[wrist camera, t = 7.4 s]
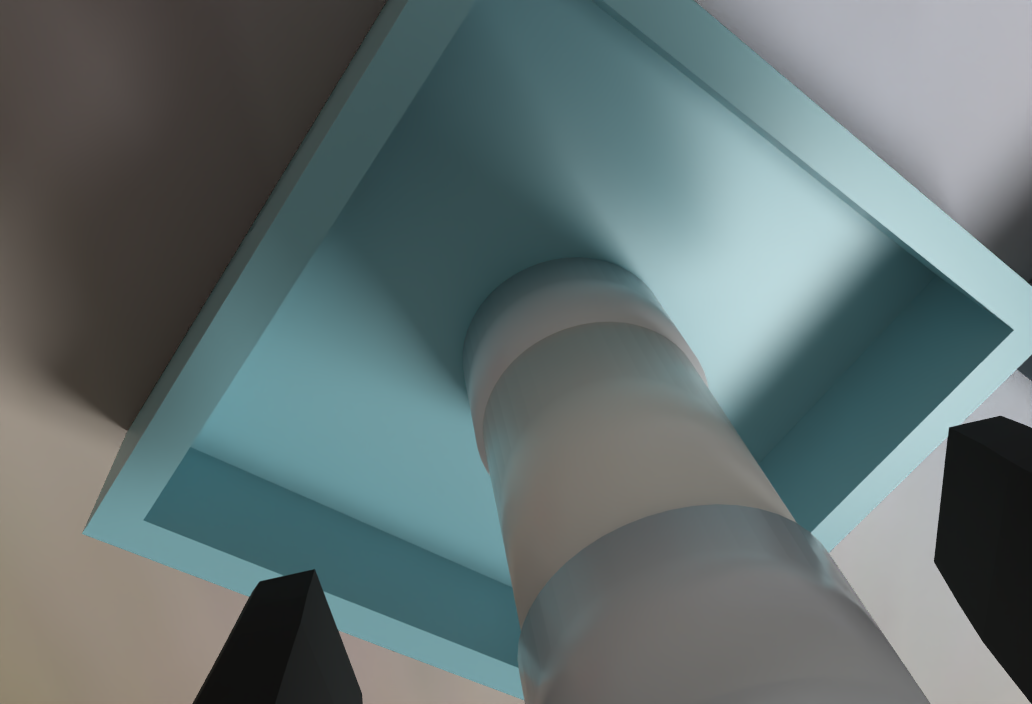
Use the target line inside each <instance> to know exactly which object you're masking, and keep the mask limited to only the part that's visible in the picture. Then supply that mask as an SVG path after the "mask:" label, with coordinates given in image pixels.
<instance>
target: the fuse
mask: <svg viewBox="0 0 1032 704" xmlns="http://www.w3.org/2000/svg"><path fill="white" fill-rule="evenodd" d="M462 365H463V372H464V378H465V384H466V389H467V394H468V400H469V405H470V411H471V416H472V421H473V427H474V432H475V438H476V443H477V448H478V451H479V455H480V458H481V461H482V463H483V465H484V467H485V469H486V471H487V472H488V474H489V475H490V477H491V482H492V488H493V493H494V498H495V503H496V508H497V513H498V518H499V523H500V528H501V533H502V538H503V543H504V548H505V553H506V558H507V563H508V568H509V573H510V578H511V583H512V588H513V593H514V598H515V604H516V609H517V614H518V619H519V624H520V629H521V634H520V638H519V642H518V658H517V660H518V667H519V674H520V680H521V685H522V691H523V696H524V701H525V704H930V702H929V701H928V699H927V698H926V696H925V695H924V693H923V692H922V690H921V689H920V687H919V686H918V685H917V683H916V682H915V680H914V679H913V677H912V676H911V674H910V673H909V671H908V670H907V668H906V667H905V665H904V664H903V662H902V661H901V659H900V658H899V656H898V655H897V653H896V652H895V650H894V649H893V647H892V646H891V645H890V643H889V642H888V640H887V639H886V637H885V636H884V634H883V633H882V631H881V630H880V628H879V627H878V625H877V624H876V622H875V621H874V619H873V618H872V616H871V615H870V613H869V612H868V610H867V609H866V607H865V606H864V605H863V603H862V602H861V600H860V599H859V597H858V596H857V594H856V593H855V591H854V590H853V588H852V587H851V585H850V584H849V582H848V581H847V579H846V578H845V576H844V575H843V573H842V572H841V570H840V569H839V568H838V566H837V565H836V563H835V562H834V560H833V559H832V557H831V556H830V554H829V553H828V552H827V550H826V549H825V547H824V546H823V545H822V543H821V542H820V541H819V540H818V539H817V538H816V537H815V536H813V535H812V534H811V533H810V532H809V531H808V530H806V529H805V528H803V527H802V526H800V525H799V524H797V522H796V521H795V519H794V518H793V516H792V515H791V513H790V512H789V510H788V509H787V507H786V506H785V504H784V503H783V501H782V500H781V498H780V497H779V495H778V494H777V492H776V491H775V489H774V488H773V486H772V484H771V483H770V481H769V480H768V478H767V477H766V475H765V474H764V472H763V471H762V469H761V468H760V466H759V465H758V463H757V462H756V460H755V459H754V457H753V456H752V454H751V453H750V451H749V449H748V448H747V446H746V445H745V443H744V442H743V440H742V439H741V437H740V436H739V434H738V433H737V431H736V430H735V428H734V427H733V425H732V424H731V422H730V421H729V419H728V418H727V416H726V414H725V413H724V411H723V410H722V408H721V407H720V405H719V404H718V402H717V401H716V399H715V398H714V396H713V395H712V393H711V392H710V390H709V388H708V383H707V379H706V376H705V373H704V370H703V368H702V366H701V364H700V362H699V360H698V359H697V357H696V356H695V354H694V353H693V351H692V350H691V348H690V347H689V345H688V344H687V342H686V341H685V339H684V338H683V336H682V335H681V334H680V332H679V331H678V329H677V328H676V326H675V325H674V323H673V322H672V320H671V319H670V317H669V316H668V314H667V313H666V311H665V310H664V308H663V307H662V305H661V304H660V302H659V301H658V299H657V298H656V297H655V295H654V294H653V292H652V291H651V290H650V288H649V287H648V286H647V285H646V284H645V283H644V282H643V281H642V280H640V279H639V278H638V277H636V276H635V275H634V274H633V273H631V272H629V271H627V270H626V269H624V268H622V267H620V266H618V265H615V264H612V263H610V262H607V261H602V260H598V259H593V258H583V257H573V258H561V259H554V260H550V261H546V262H542V263H539V264H536V265H534V266H531V267H529V268H526V269H524V270H522V271H520V272H519V273H517V274H515V275H513V276H511V277H510V278H509V279H507V280H506V281H505V282H503V283H502V284H500V285H499V286H498V287H497V288H496V289H495V290H494V291H493V292H492V293H491V294H490V295H489V296H488V297H487V298H486V300H485V301H484V302H483V303H482V304H481V306H480V307H479V309H478V310H477V312H476V313H475V315H474V317H473V319H472V321H471V323H470V325H469V328H468V330H467V334H466V337H465V340H464V347H463V361H462Z"/></svg>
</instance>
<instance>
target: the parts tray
mask: <svg viewBox="0 0 1032 704" xmlns="http://www.w3.org/2000/svg"><path fill="white" fill-rule="evenodd" d="M573 257H583V258H593V259H598V260H602V261H607V262H610V263H612V264H615V265H618V266H620V267H622V268H624V269H626V270H627V271H629V272H631V273H633V274H634V275H635V276H636V277H638V278H639V279H640V280H642V281H643V282H644V283H645V284H646V285H647V286H648V287H649V288H650V290H651V291H652V292H653V294H654V295H655V297H656V298H657V299H658V301H659V302H660V304H661V305H662V307H663V308H664V310H665V311H666V313H667V314H668V316H669V317H670V319H671V320H672V322H673V323H674V325H675V326H676V328H677V329H678V331H679V332H680V334H681V335H682V336H683V338H684V339H685V341H686V342H687V344H688V345H689V347H690V348H691V350H692V351H693V353H694V354H695V356H696V357H697V359H698V360H699V362H700V364H701V366H702V368H703V370H704V373H705V376H706V379H707V383H708V388H709V390H710V392H711V393H712V395H713V396H714V398H715V399H716V401H717V402H718V404H719V405H720V407H721V408H722V410H723V411H724V413H725V414H726V416H727V418H728V419H729V421H730V422H731V424H732V425H733V427H734V428H735V430H736V431H737V433H738V434H739V436H740V437H741V439H742V440H743V442H744V443H745V445H746V446H747V448H748V449H749V451H750V453H751V454H752V456H753V457H754V459H755V460H756V462H757V463H758V465H759V466H760V468H761V469H762V471H763V472H764V474H765V475H766V477H767V478H768V480H769V481H770V483H771V484H772V486H773V488H774V489H775V491H776V492H777V494H778V495H779V497H780V498H781V500H782V501H783V503H784V504H785V506H786V507H787V509H788V510H789V512H790V513H791V515H792V516H793V518H794V519H795V521H796V522H797V524H799V525H800V526H802V527H803V528H805V529H806V530H808V531H809V532H810V533H811V534H812V535H813V536H815V537H816V538H817V539H818V540H819V541H820V542H821V543H822V545H823V546H824V547H825V549H826V550H827V552H828V553H829V552H830V551H831V550H832V549H833V548H834V547H835V546H836V545H837V544H838V543H839V542H840V541H841V540H842V539H843V538H844V537H845V536H846V535H847V534H849V533H850V532H851V531H852V530H853V529H854V528H855V527H856V526H857V525H858V524H859V523H860V522H861V521H862V520H863V519H864V518H865V517H866V516H867V515H868V514H869V513H870V512H871V511H872V510H873V509H874V508H875V507H876V506H877V505H878V504H879V503H880V502H881V501H882V500H883V499H884V498H885V497H886V496H887V495H888V494H889V493H891V492H892V491H893V490H894V489H895V488H896V487H897V486H898V485H899V484H900V483H901V482H902V481H903V480H904V479H905V478H906V477H907V476H908V475H909V474H910V473H911V472H912V471H913V470H914V469H915V468H916V467H917V466H918V465H919V464H920V463H921V462H922V461H923V460H924V459H925V458H926V457H927V456H928V455H929V454H930V453H931V452H932V451H934V450H935V449H936V448H937V447H938V446H939V445H940V444H941V443H942V442H943V441H944V440H945V439H946V438H947V437H948V431H949V427H953V426H957V425H960V424H961V423H962V422H963V421H964V420H965V419H966V418H967V417H968V416H969V415H970V414H971V413H972V412H973V411H974V410H975V409H977V408H978V407H979V406H980V405H981V404H982V403H983V402H984V401H985V400H986V399H987V398H988V397H989V396H990V395H991V394H992V393H993V392H994V391H995V390H996V389H997V388H998V387H999V386H1000V385H1001V384H1002V383H1003V382H1004V381H1005V380H1006V379H1007V378H1008V377H1009V376H1010V375H1011V374H1012V373H1013V372H1014V371H1015V370H1016V369H1017V368H1019V367H1020V366H1021V365H1022V364H1023V363H1024V362H1025V361H1026V360H1027V359H1028V358H1029V357H1030V356H1031V355H1032V286H1031V285H1030V284H1029V283H1027V282H1026V281H1025V280H1024V279H1023V278H1021V277H1020V276H1019V275H1018V274H1017V273H1016V272H1014V271H1013V270H1012V269H1011V268H1010V267H1008V266H1007V265H1006V264H1005V263H1004V262H1002V261H1001V260H1000V259H999V258H998V257H997V256H995V255H994V254H993V253H992V252H991V251H989V250H988V249H987V248H986V247H985V246H984V245H982V244H981V243H980V242H979V241H978V240H976V239H975V238H974V237H973V236H972V235H971V234H969V233H968V232H967V231H966V230H965V229H963V228H962V227H961V226H960V225H959V224H958V223H956V222H955V221H954V220H953V219H952V218H950V217H949V216H948V215H947V214H946V213H945V212H943V211H942V210H941V209H940V208H939V207H937V206H936V205H935V204H934V203H933V202H931V201H930V200H929V199H928V198H927V197H926V196H924V195H923V194H922V193H921V192H920V191H918V190H917V189H916V188H915V187H914V186H913V185H911V184H910V183H909V182H908V181H907V180H905V179H904V178H903V177H902V176H901V175H900V174H898V173H897V172H896V171H895V170H894V169H892V168H891V167H890V166H889V165H888V164H887V163H885V162H884V161H883V160H882V159H881V158H879V157H878V156H877V155H876V154H875V153H874V152H872V151H871V150H870V149H869V148H868V147H866V146H865V145H864V144H863V143H862V142H861V141H859V140H858V139H857V138H856V137H855V136H853V135H852V134H851V133H850V132H849V131H847V130H846V129H845V128H844V127H843V126H842V125H840V124H839V123H838V122H837V121H836V120H834V119H833V118H832V117H831V116H830V115H829V114H827V113H826V112H825V111H824V110H823V109H821V108H820V107H819V106H818V105H817V104H816V103H814V102H813V101H812V100H811V99H810V98H808V97H807V96H806V95H805V94H804V93H803V92H801V91H800V90H799V89H798V88H797V87H795V86H794V85H793V84H792V83H791V82H790V81H788V80H787V79H786V78H785V77H784V76H782V75H781V74H780V73H779V72H778V71H777V70H775V69H774V68H773V67H772V66H771V65H769V64H768V63H767V62H766V61H765V60H763V59H762V58H761V57H760V56H759V55H758V54H756V53H755V52H754V51H753V50H752V49H750V48H749V47H748V46H747V45H746V44H745V43H743V42H742V41H741V40H740V39H739V38H737V37H736V36H735V35H734V34H733V33H732V32H730V31H729V30H728V29H727V28H726V27H724V26H723V25H722V24H721V23H720V22H719V21H717V20H716V19H715V18H714V17H713V16H711V15H710V14H709V13H708V12H707V11H706V10H704V9H703V8H702V7H701V6H700V5H698V4H697V3H696V2H695V1H694V0H388V1H387V2H386V4H385V6H384V7H383V9H382V11H381V12H380V14H379V16H378V17H377V19H376V20H375V22H374V24H373V25H372V27H371V29H370V30H369V32H368V34H367V35H366V37H365V39H364V40H363V42H362V44H361V45H360V47H359V49H358V50H357V52H356V54H355V55H354V57H353V59H352V60H351V62H350V64H349V65H348V67H347V69H346V70H345V72H344V74H343V75H342V77H341V78H340V80H339V82H338V83H337V85H336V87H335V88H334V90H333V92H332V93H331V95H330V97H329V98H328V100H327V102H326V103H325V105H324V107H323V108H322V110H321V112H320V113H319V115H318V117H317V118H316V120H315V122H314V123H313V125H312V127H311V128H310V130H309V132H308V133H307V135H306V137H305V138H304V140H303V141H302V143H301V145H300V146H299V148H298V150H297V151H296V153H295V155H294V156H293V158H292V160H291V161H290V163H289V165H288V166H287V168H286V170H285V171H284V173H283V175H282V176H281V178H280V180H279V181H278V183H277V185H276V186H275V188H274V190H273V191H272V193H271V195H270V196H269V198H268V200H267V201H266V203H265V204H264V206H263V208H262V209H261V211H260V213H259V214H258V216H257V218H256V219H255V221H254V223H253V224H252V226H251V228H250V229H249V231H248V233H247V234H246V236H245V238H244V239H243V241H242V243H241V244H240V246H239V248H238V249H237V251H236V253H235V254H234V256H233V258H232V259H231V261H230V263H229V264H228V266H227V267H226V269H225V271H224V272H223V274H222V276H221V277H220V279H219V281H218V282H217V284H216V286H215V287H214V289H213V291H212V292H211V294H210V296H209V297H208V299H207V301H206V302H205V304H204V306H203V307H202V309H201V311H200V312H199V314H198V316H197V317H196V319H195V321H194V322H193V324H192V325H191V327H190V329H189V330H188V332H187V334H186V335H185V337H184V339H183V340H182V342H181V344H180V345H179V347H178V349H177V350H176V352H175V354H174V355H173V357H172V359H171V360H170V362H169V364H168V365H167V367H166V369H165V370H164V372H163V374H162V375H161V377H160V379H159V380H158V382H157V384H156V385H155V387H154V388H153V390H152V392H151V393H150V395H149V397H148V398H147V400H146V402H145V403H144V405H143V407H142V408H141V410H140V412H139V413H138V415H137V417H136V418H135V420H134V422H133V423H132V425H131V427H130V428H129V430H128V432H127V433H126V436H125V438H124V440H123V442H122V445H121V447H120V449H119V451H118V454H117V456H116V458H115V461H114V463H113V465H112V467H111V470H110V472H109V474H108V476H107V479H106V481H105V483H104V485H103V488H102V490H101V492H100V494H99V497H98V499H97V501H96V504H95V506H94V508H93V510H92V513H91V515H90V517H89V519H88V522H87V524H86V526H85V528H84V531H83V533H82V534H84V535H87V536H89V537H92V538H95V539H97V540H100V541H103V542H105V543H108V544H111V545H113V546H116V547H119V548H121V549H124V550H127V551H129V552H132V553H135V554H137V555H140V556H143V557H145V558H148V559H150V560H153V561H156V562H158V563H161V564H164V565H166V566H169V567H172V568H174V569H177V570H180V571H182V572H185V573H188V574H190V575H193V576H196V577H198V578H201V579H204V580H206V581H209V582H212V583H214V584H217V585H220V586H222V587H225V588H227V589H230V590H233V591H235V592H238V593H241V594H243V595H246V596H249V597H250V595H251V593H252V591H253V590H254V588H255V587H256V586H257V584H258V583H259V581H263V580H268V579H272V578H277V577H281V576H286V575H290V574H295V573H299V572H304V571H308V570H313V569H315V570H316V573H317V576H318V578H319V581H320V584H321V586H322V589H323V592H324V594H325V597H326V600H327V602H328V605H329V608H330V610H331V613H332V616H333V618H334V621H335V623H336V626H337V629H338V630H339V631H342V632H344V633H347V634H350V635H352V636H355V637H358V638H360V639H363V640H366V641H368V642H371V643H374V644H376V645H379V646H381V647H384V648H387V649H389V650H392V651H395V652H397V653H400V654H403V655H405V656H408V657H411V658H413V659H416V660H419V661H421V662H424V663H427V664H429V665H432V666H435V667H437V668H440V669H443V670H445V671H448V672H451V673H453V674H456V675H459V676H461V677H464V678H466V679H469V680H472V681H474V682H477V683H480V684H482V685H485V686H488V687H490V688H493V689H496V690H498V691H501V692H504V693H506V694H509V695H512V696H514V697H517V698H520V699H522V700H524V696H523V691H522V685H521V680H520V674H519V667H518V660H517V658H518V642H519V638H520V634H521V629H520V624H519V619H518V614H517V609H516V604H515V598H514V593H513V588H512V583H511V578H510V573H509V568H508V563H507V558H506V553H505V548H504V543H503V538H502V533H501V528H500V523H499V518H498V513H497V508H496V503H495V498H494V493H493V488H492V482H491V477H490V475H489V474H488V472H487V471H486V469H485V467H484V465H483V463H482V461H481V458H480V455H479V451H478V448H477V443H476V438H475V432H474V427H473V421H472V416H471V411H470V405H469V400H468V394H467V389H466V384H465V378H464V372H463V365H462V361H463V347H464V340H465V337H466V334H467V330H468V328H469V325H470V323H471V321H472V319H473V317H474V315H475V313H476V312H477V310H478V309H479V307H480V306H481V304H482V303H483V302H484V301H485V300H486V298H487V297H488V296H489V295H490V294H491V293H492V292H493V291H494V290H495V289H496V288H497V287H498V286H499V285H500V284H502V283H503V282H505V281H506V280H507V279H509V278H510V277H511V276H513V275H515V274H517V273H519V272H520V271H522V270H524V269H526V268H529V267H531V266H534V265H536V264H539V263H542V262H546V261H550V260H554V259H561V258H573Z"/></svg>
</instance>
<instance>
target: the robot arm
mask: <svg viewBox="0 0 1032 704" xmlns="http://www.w3.org/2000/svg"><path fill="white" fill-rule="evenodd" d="M934 563H935V564H936V566H937V568H938V569H939V571H940V573H941V574H942V576H943V578H944V580H945V581H946V583H947V585H948V586H949V588H950V590H951V591H952V593H953V595H954V597H955V598H956V600H957V602H958V603H959V605H960V607H961V608H962V610H963V611H964V613H965V614H966V616H967V618H968V619H969V621H970V622H971V624H972V626H973V627H974V629H975V630H976V632H977V633H978V635H979V637H980V638H981V640H982V641H983V643H984V644H985V645H986V646H987V648H988V649H989V650H990V652H991V653H992V654H993V656H994V657H995V658H996V659H997V661H998V662H999V663H1000V665H1001V666H1002V667H1003V668H1004V670H1005V671H1006V672H1007V673H1008V675H1009V676H1010V677H1011V678H1012V680H1013V681H1014V682H1015V684H1016V685H1017V686H1018V687H1019V689H1020V690H1021V691H1022V692H1023V694H1024V695H1025V696H1026V697H1027V699H1028V700H1029V701H1030V703H1031V704H1032V428H1031V427H1028V426H1026V425H1023V424H1021V423H1018V422H1016V421H1013V420H1011V419H1008V418H1005V417H1003V416H998V417H993V418H989V419H984V420H980V421H975V422H971V423H966V424H962V425H957V426H953V427H949V431H948V440H947V449H946V458H945V467H944V476H943V485H942V494H941V503H940V512H939V521H938V530H937V539H936V548H935V557H934ZM193 704H363V702H362V693H361V690H360V687H359V685H358V682H357V679H356V677H355V674H354V671H353V669H352V666H351V663H350V661H349V658H348V655H347V653H346V650H345V647H344V645H343V642H342V639H341V637H340V634H339V631H338V629H337V626H336V623H335V621H334V618H333V616H332V613H331V610H330V608H329V605H328V602H327V600H326V597H325V594H324V592H323V589H322V586H321V584H320V581H319V578H318V576H317V573H316V570H315V569H313V570H308V571H304V572H299V573H295V574H290V575H286V576H281V577H277V578H272V579H268V580H263V581H259V583H258V584H257V586H256V587H255V588H254V590H253V591H252V593H251V595H250V597H249V599H248V601H247V603H246V604H245V606H244V608H243V610H242V612H241V614H240V616H239V618H238V620H237V622H236V624H235V626H234V627H233V629H232V631H231V633H230V635H229V637H228V639H227V641H226V643H225V645H224V647H223V648H222V650H221V652H220V654H219V656H218V658H217V660H216V662H215V663H214V665H213V667H212V669H211V671H210V673H209V674H208V676H207V678H206V680H205V682H204V684H203V685H202V687H201V689H200V691H199V693H198V695H197V696H196V698H195V700H194V702H193Z"/></svg>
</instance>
